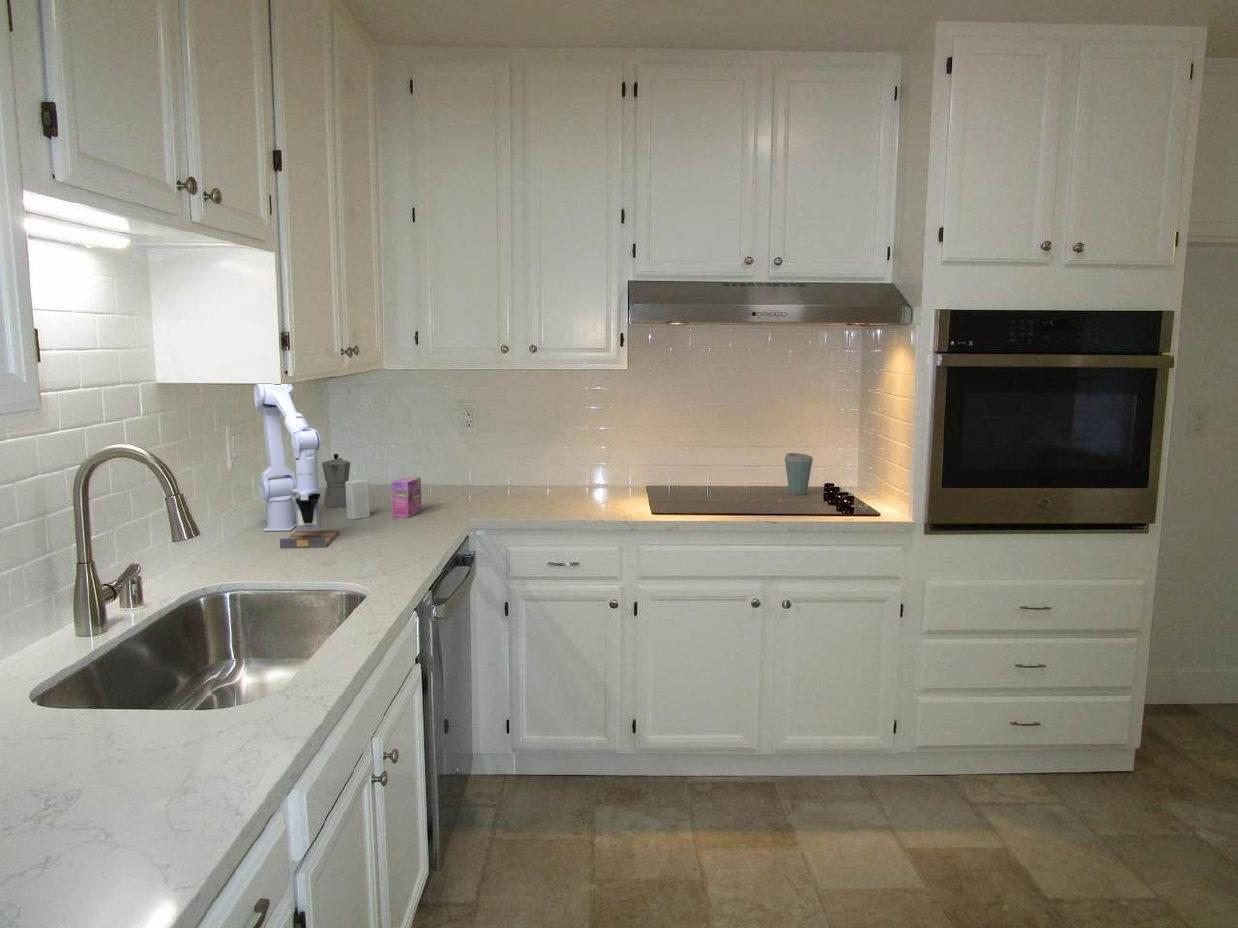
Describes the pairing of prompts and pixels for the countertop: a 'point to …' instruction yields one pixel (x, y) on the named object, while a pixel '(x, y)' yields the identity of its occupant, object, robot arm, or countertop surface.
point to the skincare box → (357, 499)
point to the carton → (308, 526)
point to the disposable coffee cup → (798, 472)
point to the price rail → (302, 542)
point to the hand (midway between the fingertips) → (309, 521)
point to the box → (406, 497)
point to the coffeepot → (336, 481)
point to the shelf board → (316, 534)
